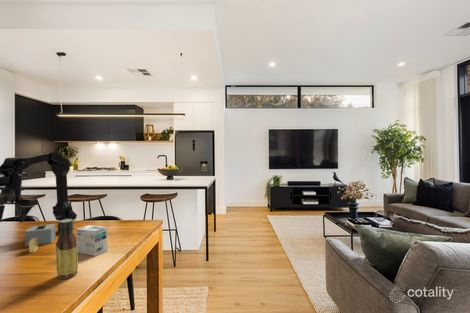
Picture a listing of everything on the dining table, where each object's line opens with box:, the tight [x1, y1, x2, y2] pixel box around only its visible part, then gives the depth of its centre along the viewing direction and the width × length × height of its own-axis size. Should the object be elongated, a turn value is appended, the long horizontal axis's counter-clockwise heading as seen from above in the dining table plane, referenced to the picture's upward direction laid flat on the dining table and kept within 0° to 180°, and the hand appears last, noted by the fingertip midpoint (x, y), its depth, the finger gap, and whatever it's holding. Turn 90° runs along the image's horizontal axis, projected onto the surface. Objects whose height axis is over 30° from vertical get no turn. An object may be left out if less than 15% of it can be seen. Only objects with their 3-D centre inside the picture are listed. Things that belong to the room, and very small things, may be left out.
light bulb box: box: [76, 224, 108, 257], centre depth 113 cm, size 11×7×11 cm, turn 71°
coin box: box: [24, 223, 57, 247], centre depth 126 cm, size 10×9×7 cm
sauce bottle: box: [55, 219, 79, 280], centre depth 92 cm, size 6×6×20 cm
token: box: [28, 237, 39, 254], centre depth 115 cm, size 2×5×5 cm, turn 24°
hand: (10, 222), depth 112 cm, fingers open, 9 cm apart
